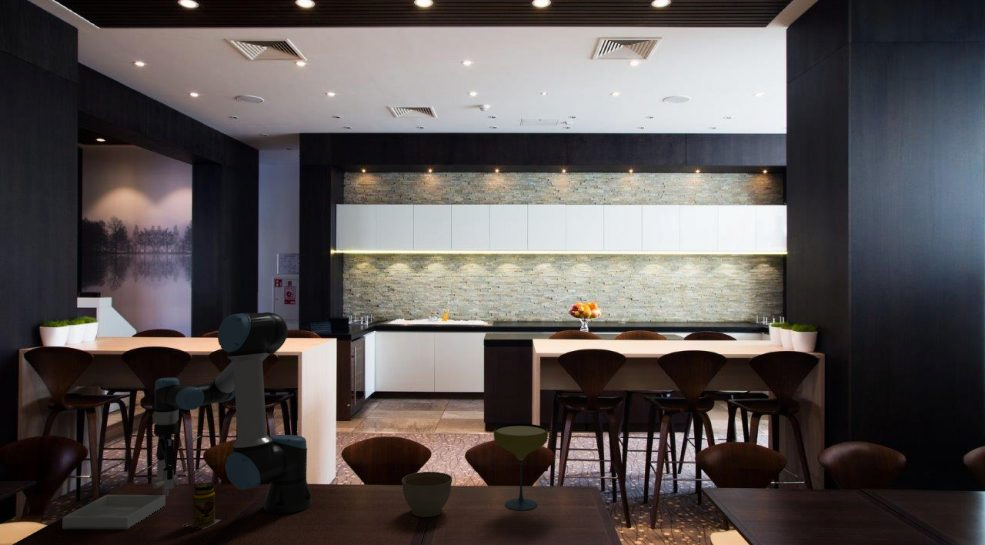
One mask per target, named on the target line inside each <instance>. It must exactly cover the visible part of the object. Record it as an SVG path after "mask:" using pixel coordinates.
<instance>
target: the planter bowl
mask: <svg viewBox="0 0 985 545" xmlns="http://www.w3.org/2000/svg"><path fill="white" fill-rule="evenodd" d="M452 481H453V477H452V476H451V474H448V473H445V472H439V471H419V472H414V473H411V474H408V475H407V474H406V475H405V476H404V477H403V478H402V479H401V483H402V492H403V496H404V499H405V501H406V503H407V505H408V506H409V508H410V510H411V513H412V514H413V515H414V516H416V517H420V518H421V517H422V518H430V517H431V518H432V517H435V516H439V515H440V514H441V513H442V512H443V508H444V506H446V504H447V502H448V500H449V498H450V494H451V490H452V483H453V482H452Z"/></svg>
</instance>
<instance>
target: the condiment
mask: <svg viewBox="0 0 985 545" xmlns="http://www.w3.org/2000/svg"><path fill="white" fill-rule="evenodd" d="M214 487H215V485H214V483H213V482H202V483H198V484H195V486H194V494H193V498H192V499H193V501H192V502H193V507H192V508H193V512H192V513H193V515H192V517H193V518H192V521H193V523H194V526H195V527H204V528H202V529H201V530H205V529H207V528H210V527H211V526H213V525H215V524H217V523H218V522H220V521H222V519H216V514H215V513H216V492H215V490H214V489H215V488H214ZM184 525H185V524H183V526H182V527H188V526H189V525H186V526H184ZM207 526H208V527H207Z"/></svg>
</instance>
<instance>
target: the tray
mask: <svg viewBox="0 0 985 545" xmlns="http://www.w3.org/2000/svg"><path fill="white" fill-rule="evenodd" d="M163 506H164V507H166V497H165V495H161V494H159V495H158V494H151V495H150V494H106V495H104V496H102V497H100V498H98V499H96V500H93V501H92V502H90V503H88V504H85V505H84V506H82V507H80V508H79V509H76V510H74V511H72V512H70V513H69V514H66V515H64V516H62V523H61V524H62V530H129V529H130V527H131V526H132V527H134V526H135V525H137V524H139V523H141V522H142V521H143V520H145V519H146V517H147V518H149V517H150V516H151V515H153V514H154V512H155V511H156V512H158V511H159V510H161V509H163V508H164V507H163ZM162 507H163V508H162ZM160 508H161V509H160ZM157 510H158V511H157ZM156 512H155V513H156ZM152 513H153V514H152ZM149 515H150V516H149ZM141 520H142V521H141ZM138 522H139V523H138ZM136 523H137V524H136ZM133 525H134V526H133ZM132 527H131V528H132Z"/></svg>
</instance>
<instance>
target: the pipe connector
mask: <svg viewBox="0 0 985 545" xmlns="http://www.w3.org/2000/svg"><path fill="white" fill-rule="evenodd" d="M164 468H165V467H163V469H164ZM178 478H179V477H178V474H174V485H175V486H178V485H180V481H181V480H180V479H178ZM164 479H165V471H163V479H162V478H157V477H152V478H151V479H150V480H151V481H150V482H151V484H152V488H153V490H155V489H156V490H157V489H159V488H162V495H165V498H166V496H167V497H169V489H166V490H165V489H164Z"/></svg>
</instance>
